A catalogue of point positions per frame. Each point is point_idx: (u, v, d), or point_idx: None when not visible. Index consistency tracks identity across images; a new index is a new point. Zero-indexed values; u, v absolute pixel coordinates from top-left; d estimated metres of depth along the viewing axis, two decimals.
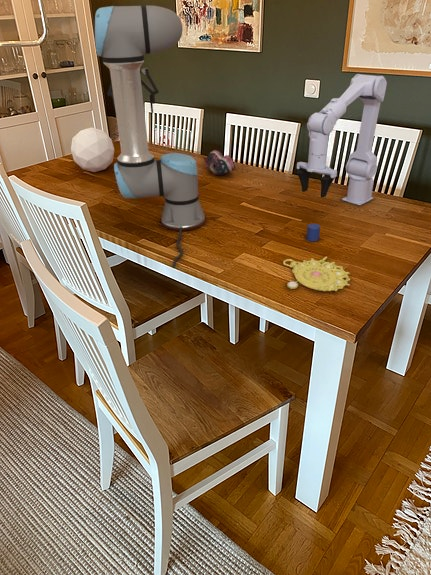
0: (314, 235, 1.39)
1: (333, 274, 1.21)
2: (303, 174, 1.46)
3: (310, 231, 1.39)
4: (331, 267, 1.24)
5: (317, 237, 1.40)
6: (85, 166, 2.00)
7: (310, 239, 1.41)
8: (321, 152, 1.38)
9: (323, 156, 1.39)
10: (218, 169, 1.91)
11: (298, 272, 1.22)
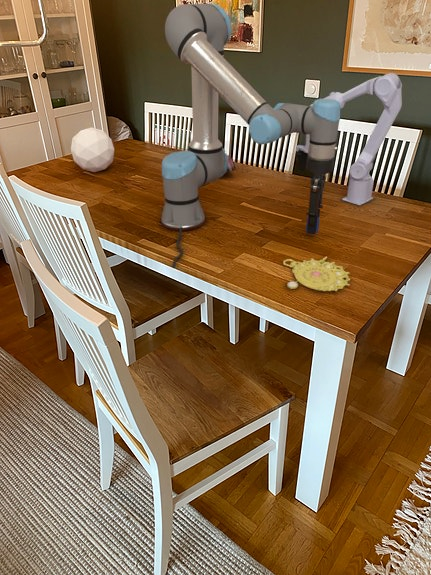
0: None
1: (333, 274, 1.21)
2: (301, 155, 1.71)
3: None
4: (331, 267, 1.24)
5: (316, 229, 1.39)
6: (85, 166, 2.00)
7: None
8: (308, 135, 1.64)
9: None
10: None
11: (298, 272, 1.22)
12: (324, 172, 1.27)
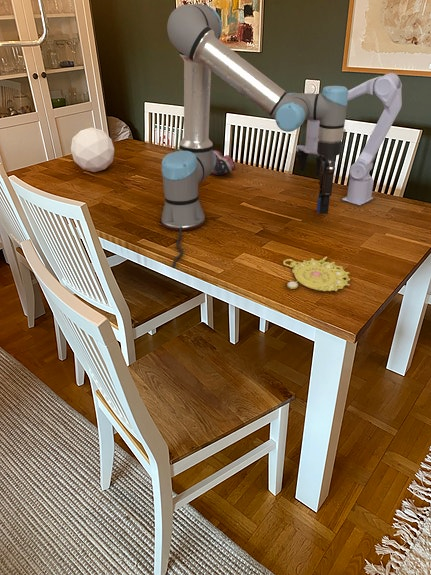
0: None
1: (333, 274, 1.21)
2: (301, 155, 1.71)
3: None
4: (331, 267, 1.24)
5: None
6: (85, 166, 2.00)
7: None
8: (308, 135, 1.64)
9: (318, 139, 1.64)
10: (218, 169, 1.91)
11: (298, 272, 1.22)
12: (336, 153, 1.37)
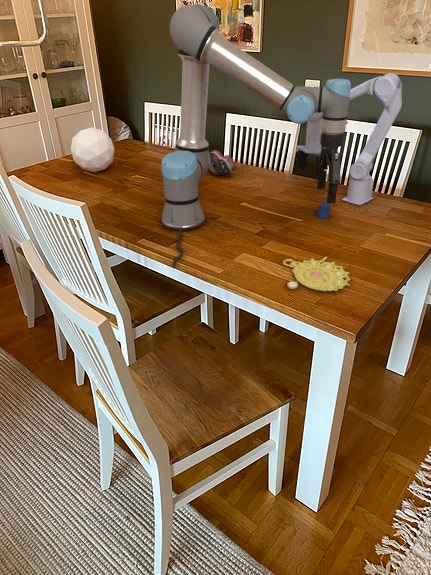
0: (326, 212, 1.54)
1: (333, 274, 1.21)
2: (301, 155, 1.71)
3: (323, 209, 1.54)
4: (331, 267, 1.24)
5: (328, 214, 1.56)
6: (85, 166, 2.00)
7: (323, 216, 1.55)
8: (308, 135, 1.64)
9: (318, 139, 1.64)
10: (218, 169, 1.91)
11: (298, 272, 1.22)
12: (340, 145, 1.41)
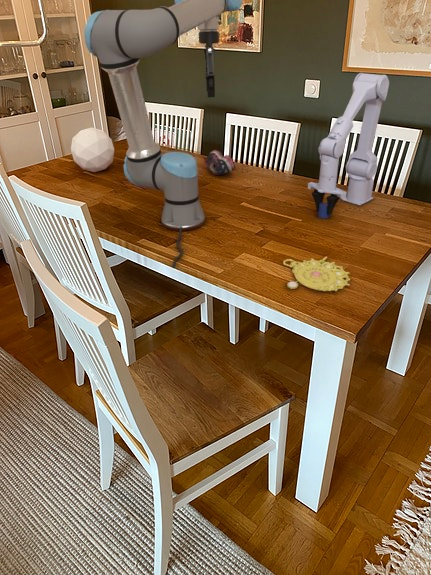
0: None
1: (333, 274, 1.21)
2: (318, 195, 1.53)
3: (324, 209, 1.54)
4: (331, 267, 1.24)
5: None
6: (85, 166, 2.00)
7: (323, 216, 1.55)
8: (332, 174, 1.46)
9: (333, 178, 1.47)
10: (218, 169, 1.91)
11: (298, 272, 1.22)
12: (214, 41, 1.59)
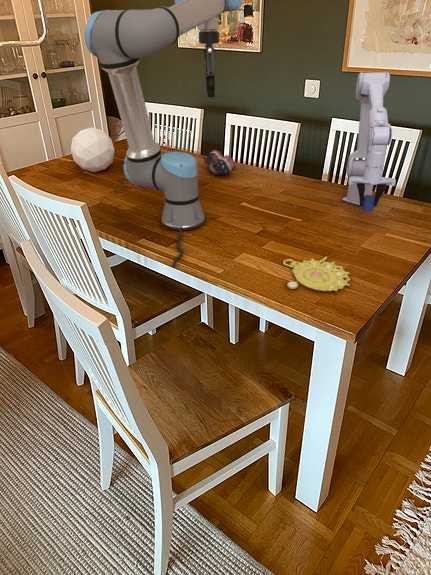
0: (373, 204, 1.48)
1: (333, 274, 1.21)
2: (364, 189, 1.45)
3: (372, 201, 1.46)
4: (331, 267, 1.24)
5: None
6: (85, 166, 2.00)
7: (371, 209, 1.48)
8: (383, 163, 1.40)
9: None
10: (218, 169, 1.91)
11: (298, 272, 1.22)
12: (214, 41, 1.59)
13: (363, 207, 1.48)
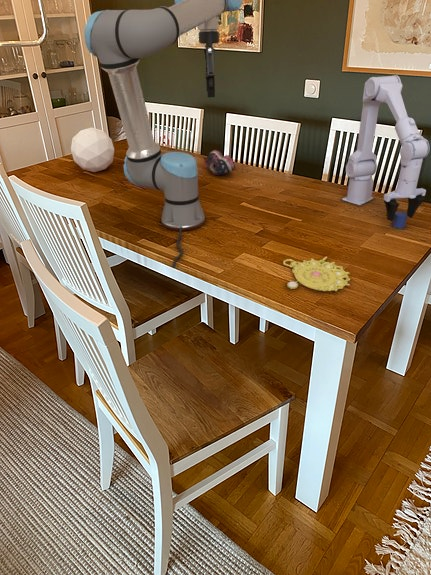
0: None
1: (333, 274, 1.21)
2: None
3: (406, 218, 1.46)
4: (331, 267, 1.24)
5: None
6: (85, 166, 2.00)
7: (404, 225, 1.47)
8: (418, 176, 1.39)
9: None
10: (218, 169, 1.91)
11: (298, 272, 1.22)
12: (214, 41, 1.59)
13: (397, 225, 1.47)
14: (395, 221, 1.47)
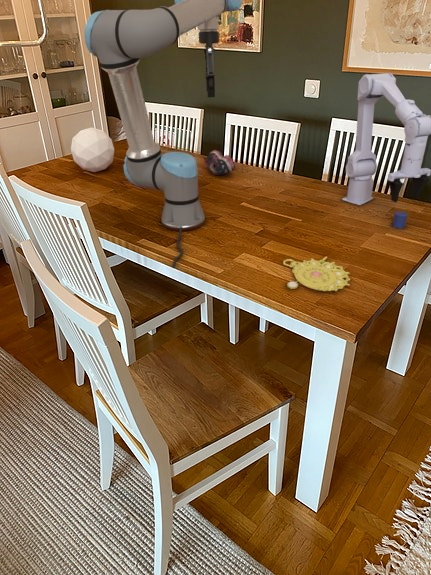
0: None
1: (333, 274, 1.21)
2: None
3: (406, 218, 1.46)
4: (331, 267, 1.24)
5: None
6: (85, 166, 2.00)
7: (404, 225, 1.47)
8: (423, 154, 1.35)
9: None
10: (218, 169, 1.91)
11: (298, 272, 1.22)
12: (214, 41, 1.59)
13: (397, 225, 1.47)
14: (395, 221, 1.47)
